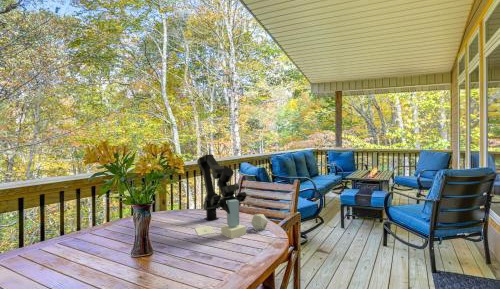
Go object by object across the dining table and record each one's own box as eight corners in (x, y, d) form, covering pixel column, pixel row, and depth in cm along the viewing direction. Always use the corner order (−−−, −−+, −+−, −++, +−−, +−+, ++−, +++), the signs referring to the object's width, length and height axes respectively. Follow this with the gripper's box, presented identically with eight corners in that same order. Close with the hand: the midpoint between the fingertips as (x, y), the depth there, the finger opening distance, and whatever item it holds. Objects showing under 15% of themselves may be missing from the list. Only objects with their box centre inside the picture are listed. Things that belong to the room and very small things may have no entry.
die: (264, 233, 151) (272, 216, 154) (249, 226, 151) (257, 209, 154) (261, 234, 158) (268, 218, 162) (247, 227, 158) (254, 211, 162)
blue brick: (227, 224, 150) (226, 200, 149) (236, 223, 152) (235, 199, 152) (230, 226, 146) (229, 202, 146) (239, 225, 149) (238, 200, 148)
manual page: (194, 228, 160) (194, 227, 160) (210, 226, 163) (210, 225, 163) (198, 235, 149) (198, 234, 149) (215, 233, 152) (215, 232, 152)
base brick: (221, 234, 150) (221, 226, 150) (235, 230, 156) (235, 222, 156) (231, 238, 143) (231, 230, 143) (245, 234, 149) (245, 226, 149)
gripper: (212, 180, 147) (221, 206, 138) (244, 176, 156) (255, 201, 147) (207, 192, 155) (215, 218, 145) (238, 189, 163) (248, 213, 154)
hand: (234, 212), depth 148 cm, fingers closed on blue brick, 5 cm apart
